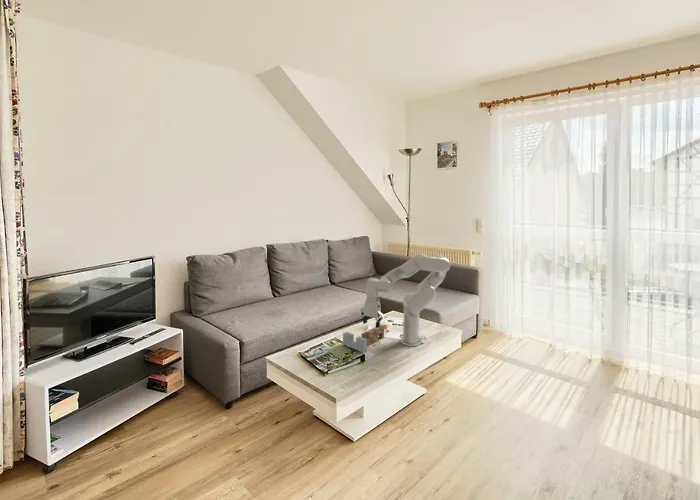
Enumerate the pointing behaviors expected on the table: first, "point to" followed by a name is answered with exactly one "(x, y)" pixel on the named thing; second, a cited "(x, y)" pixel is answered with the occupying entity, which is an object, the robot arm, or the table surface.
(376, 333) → the brown wooden board
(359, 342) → the grey u-shaped block
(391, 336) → the table surface
